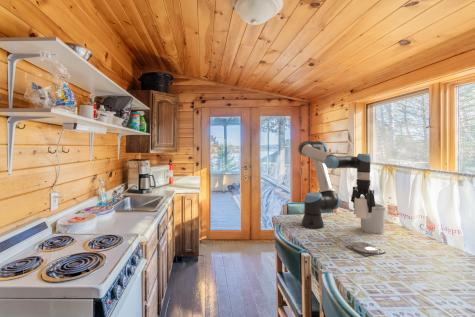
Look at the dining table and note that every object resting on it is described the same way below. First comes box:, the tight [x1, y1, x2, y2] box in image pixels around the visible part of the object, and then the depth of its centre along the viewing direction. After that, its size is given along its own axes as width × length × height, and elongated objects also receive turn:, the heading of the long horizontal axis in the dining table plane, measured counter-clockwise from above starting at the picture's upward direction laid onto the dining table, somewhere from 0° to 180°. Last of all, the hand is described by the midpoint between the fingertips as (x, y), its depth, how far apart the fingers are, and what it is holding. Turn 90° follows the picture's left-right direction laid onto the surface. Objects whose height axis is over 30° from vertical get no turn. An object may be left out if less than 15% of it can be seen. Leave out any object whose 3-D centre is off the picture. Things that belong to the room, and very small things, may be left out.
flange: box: [344, 241, 387, 258], centre depth 135 cm, size 14×14×2 cm
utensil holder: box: [360, 202, 386, 235], centre depth 167 cm, size 15×15×18 cm
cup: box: [353, 195, 368, 219], centre depth 150 cm, size 9×9×12 cm
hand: (362, 215), depth 151 cm, fingers closed on cup, 9 cm apart
